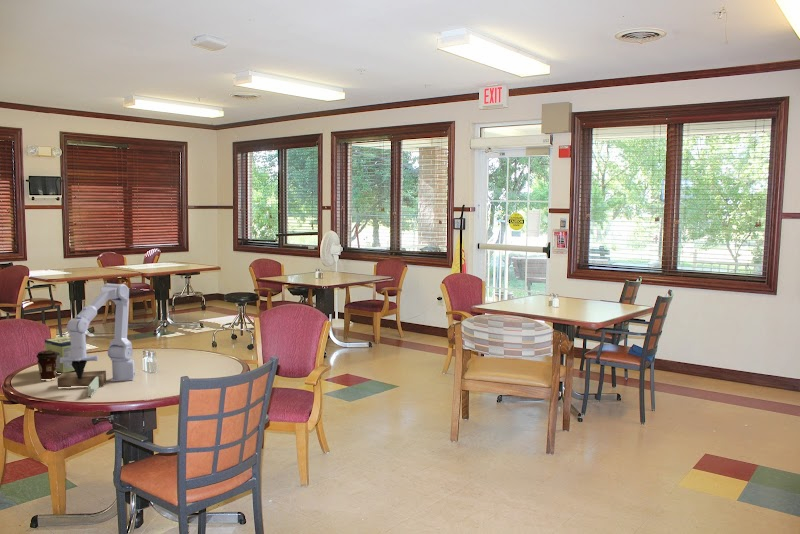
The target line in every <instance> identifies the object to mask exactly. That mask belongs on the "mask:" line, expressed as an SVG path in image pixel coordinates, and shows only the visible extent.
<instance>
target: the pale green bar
mask: <svg viewBox="0 0 800 534" xmlns="http://www.w3.org/2000/svg"><path fill="white" fill-rule="evenodd" d="M99 388H100V387H99V378H98V376H97V377H95V379H94V380H93V381H92V382H91V383H90V385H89V386H88V388H87V389H88V390H87V392H88V396H87V397H89V396H91V395H92V394H93V393H94V392H95V393H96V391H97V390H98V389H99ZM96 389H97V390H96ZM95 390H96V391H95ZM95 393H94V394H95ZM94 394H93V395H94ZM93 395H92V396H93Z"/></svg>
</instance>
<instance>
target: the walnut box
mask: <svg viewBox="0 0 800 534" xmlns="http://www.w3.org/2000/svg"><path fill="white" fill-rule="evenodd" d="M97 376H98V378H99V386H103V385H104V386H105V384H106V383H105V382H107V371H106V370H93V371H92V370H91V371H83V376H82V379H78V377H77V374H76V372H72V373H62V374H61V375H59V376H57V377H56V380H57V388H58V387H71V386H89V385H90V383H91V382H92V381H93V380H94V379H95V377H97ZM104 383H105V384H104ZM104 386H103V387H104Z"/></svg>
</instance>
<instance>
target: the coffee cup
mask: <svg viewBox="0 0 800 534" xmlns="http://www.w3.org/2000/svg"><path fill="white" fill-rule="evenodd" d="M57 356H58V355H57V354H56V352H55V351H50V350H48V351H45V350H41V351H39V352H37V354H36V358H37V365H38V372H39V376H40V380H41V379H52V378H55V377H56V378H57V374H56V366H57Z"/></svg>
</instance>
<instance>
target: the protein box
mask: <svg viewBox="0 0 800 534" xmlns="http://www.w3.org/2000/svg"><path fill="white" fill-rule="evenodd" d="M48 350H50V351H55V352H56V354H57V355H58V356H57V366H56V372H57V373H61V374H62V373H72V372H76V371H75V370H74V368H73V366H72V362H64V363H60V358H63V357H72V356H71V337H69V336H67V335H65V336H59V337H53V338H48V339H46V338H45V339H44V351H48Z"/></svg>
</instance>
